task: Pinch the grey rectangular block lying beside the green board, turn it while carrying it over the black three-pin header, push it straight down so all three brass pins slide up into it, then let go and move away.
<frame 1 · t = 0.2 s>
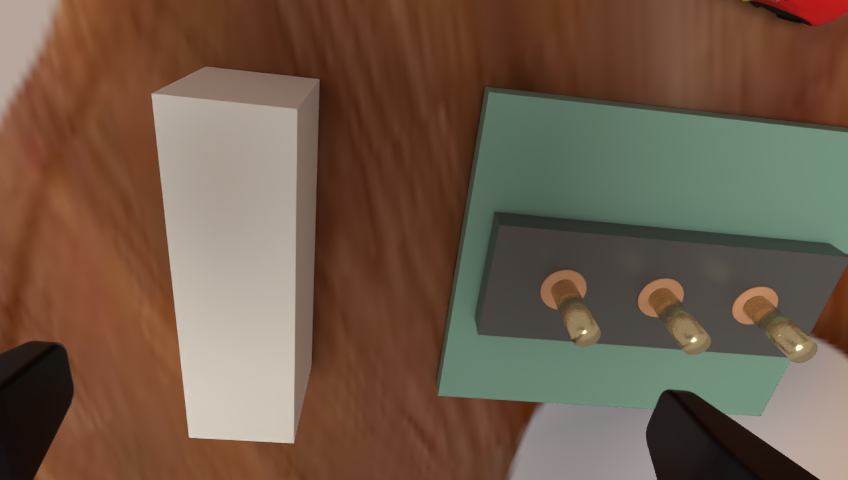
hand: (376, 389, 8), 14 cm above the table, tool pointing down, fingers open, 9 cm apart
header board: (638, 269, 23), on the table
grey rectangular block: (266, 237, 22), on the table
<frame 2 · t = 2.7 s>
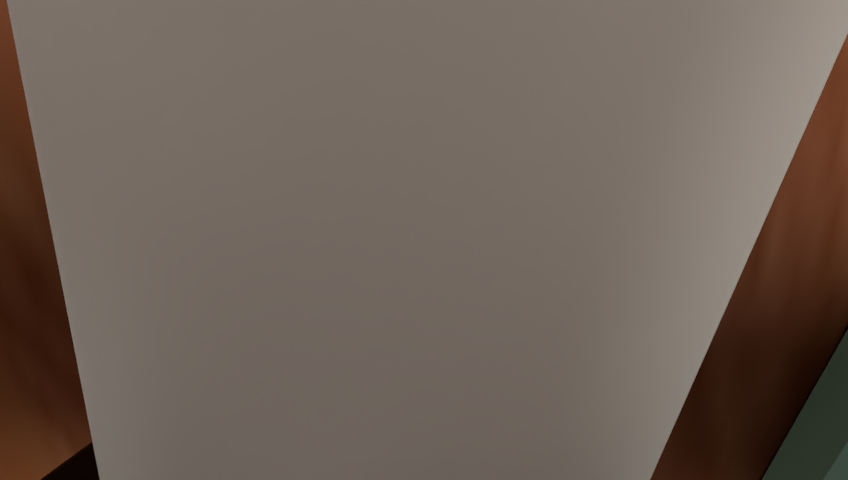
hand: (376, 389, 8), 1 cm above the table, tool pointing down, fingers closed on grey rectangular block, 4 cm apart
grey rectangular block: (378, 347, 9), on the table, touching gripper
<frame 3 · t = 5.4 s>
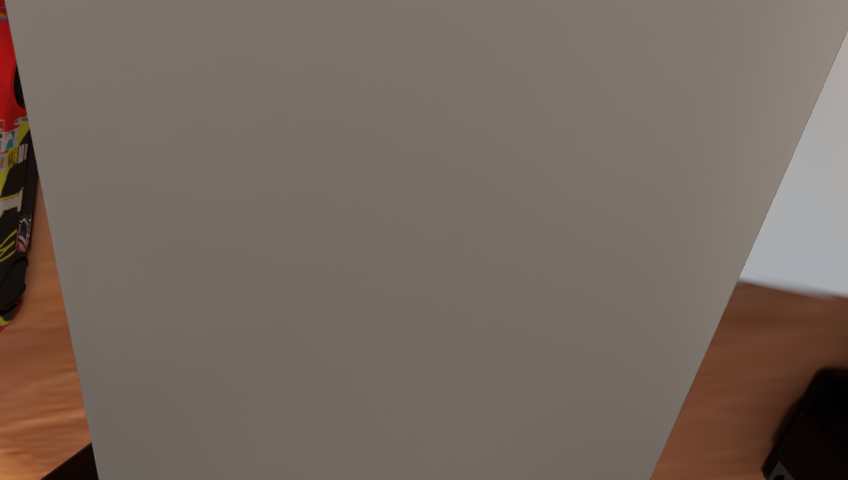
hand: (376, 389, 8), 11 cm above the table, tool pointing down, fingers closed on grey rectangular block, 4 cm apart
grey rectangular block: (378, 344, 9), point 10 cm above the table, touching gripper
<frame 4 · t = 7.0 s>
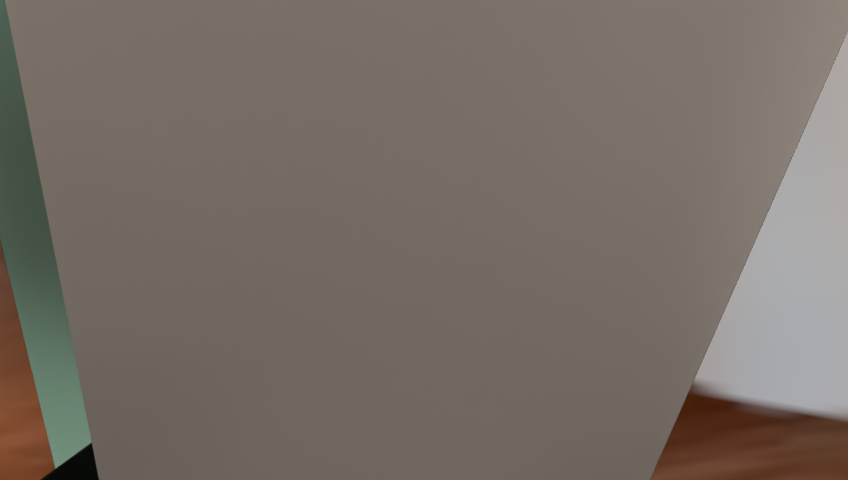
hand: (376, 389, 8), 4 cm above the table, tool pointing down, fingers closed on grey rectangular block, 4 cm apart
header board: (381, 267, 11), on the table
grey rectangular block: (378, 344, 9), point 3 cm above the table, touching gripper
when the fingers open (3 cm above the table, at t = 8.2 s): grey rectangular block stays where it is, resting on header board.
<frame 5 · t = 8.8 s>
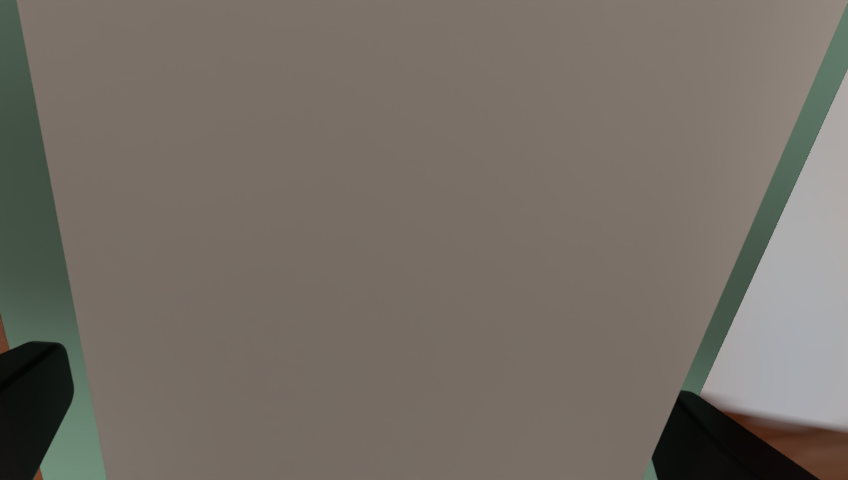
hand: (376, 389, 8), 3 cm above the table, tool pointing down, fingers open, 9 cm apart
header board: (382, 278, 11), on the table
grey rectangular block: (378, 341, 9), point 2 cm above the table, touching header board
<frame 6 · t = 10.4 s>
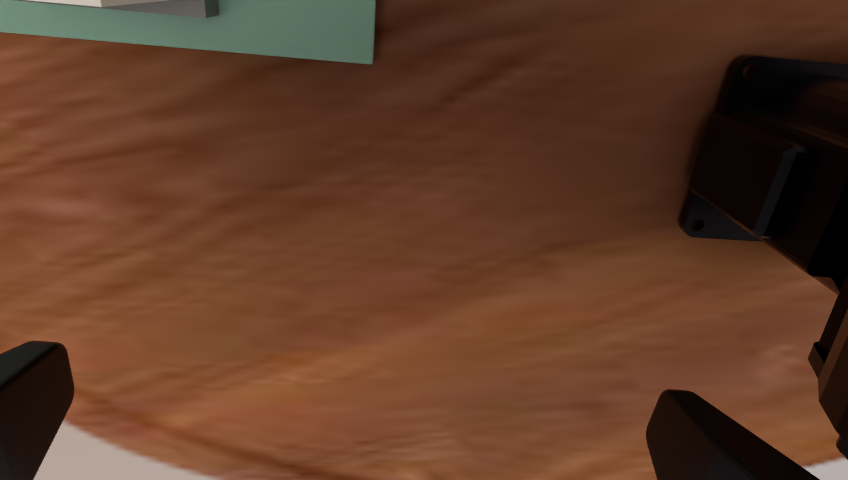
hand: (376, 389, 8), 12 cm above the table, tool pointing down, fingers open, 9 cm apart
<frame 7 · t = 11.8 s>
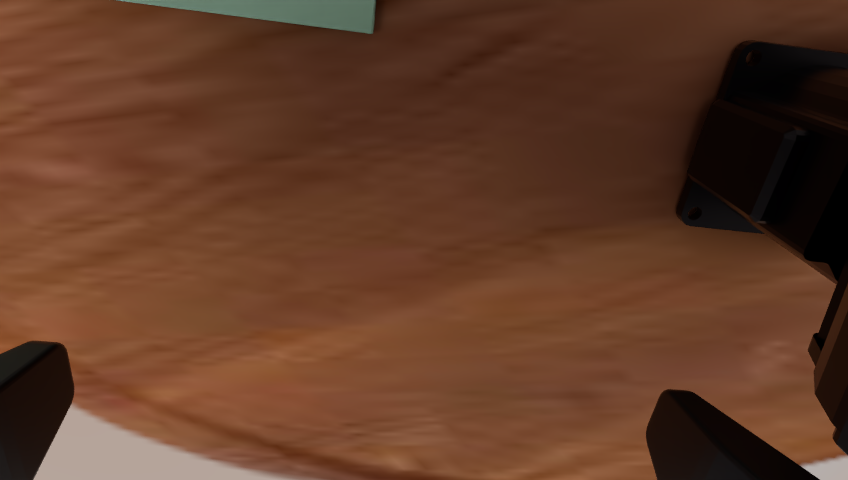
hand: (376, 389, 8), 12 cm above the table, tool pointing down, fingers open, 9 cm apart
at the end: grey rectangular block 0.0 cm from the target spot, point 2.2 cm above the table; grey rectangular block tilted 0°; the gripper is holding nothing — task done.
